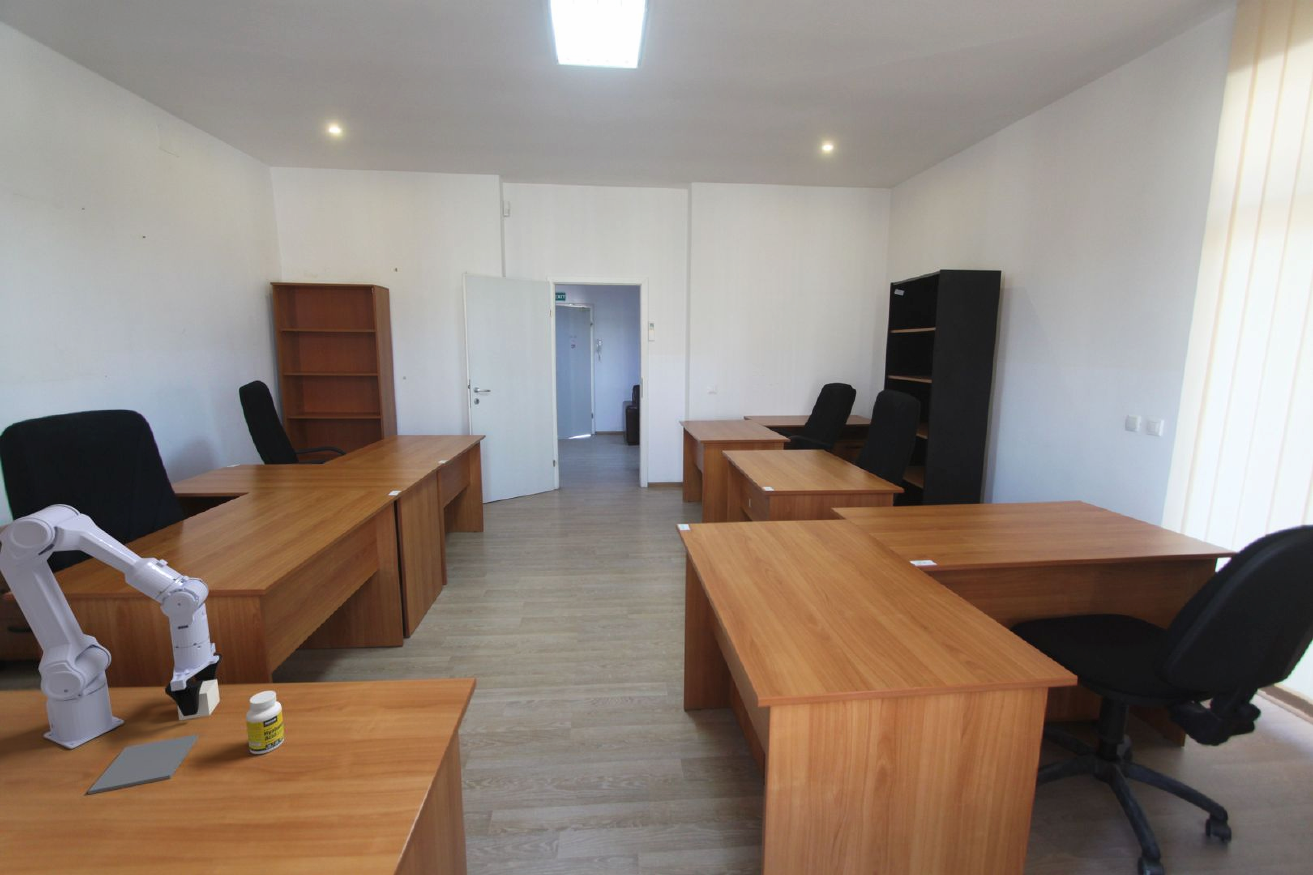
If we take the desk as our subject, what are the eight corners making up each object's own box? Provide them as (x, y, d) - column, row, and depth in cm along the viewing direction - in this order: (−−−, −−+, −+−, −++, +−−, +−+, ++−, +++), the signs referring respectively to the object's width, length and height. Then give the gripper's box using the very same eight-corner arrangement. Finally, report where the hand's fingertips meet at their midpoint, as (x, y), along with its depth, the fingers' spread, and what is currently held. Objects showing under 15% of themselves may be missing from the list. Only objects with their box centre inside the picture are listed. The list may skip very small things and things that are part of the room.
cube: (179, 720, 111) (176, 697, 110) (190, 705, 115) (187, 683, 114) (209, 715, 112) (206, 692, 111) (219, 701, 117) (217, 679, 116)
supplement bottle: (266, 757, 101) (261, 707, 99) (242, 752, 102) (236, 703, 100) (291, 737, 106) (287, 689, 104) (268, 733, 107) (262, 686, 105)
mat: (88, 794, 92) (88, 791, 92) (126, 749, 102) (125, 746, 102) (170, 778, 96) (169, 775, 95) (198, 736, 106) (198, 734, 106)
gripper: (199, 655, 106) (207, 720, 108) (229, 621, 120) (236, 679, 122) (153, 662, 104) (162, 728, 106) (189, 626, 117) (196, 685, 119)
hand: (199, 702), depth 113 cm, fingers open, 7 cm apart
